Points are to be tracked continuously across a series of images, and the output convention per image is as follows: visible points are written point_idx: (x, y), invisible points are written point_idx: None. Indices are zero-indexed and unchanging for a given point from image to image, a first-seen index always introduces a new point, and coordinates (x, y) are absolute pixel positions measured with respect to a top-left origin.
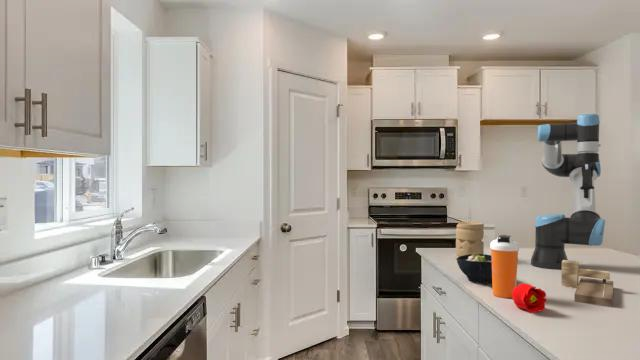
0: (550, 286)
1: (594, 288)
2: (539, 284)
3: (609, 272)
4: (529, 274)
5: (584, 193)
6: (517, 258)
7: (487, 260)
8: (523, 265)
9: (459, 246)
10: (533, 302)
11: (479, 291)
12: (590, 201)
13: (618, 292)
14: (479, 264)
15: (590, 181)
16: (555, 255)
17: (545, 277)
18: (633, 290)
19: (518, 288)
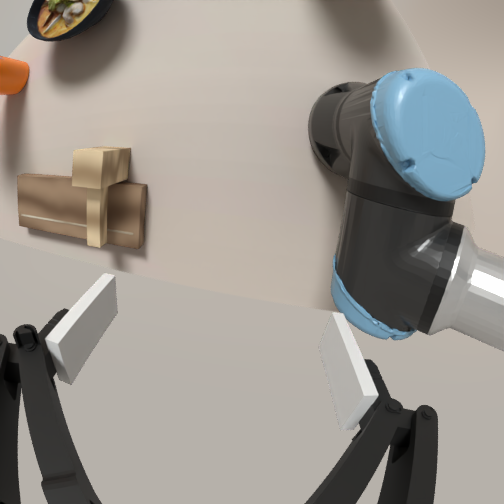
0: (94, 126)
1: (60, 206)
2: (101, 104)
3: (91, 245)
4: (200, 72)
5: (46, 328)
6: None
7: (67, 6)
8: (327, 62)
9: None
10: None
11: (27, 42)
12: (325, 354)
13: (112, 246)
14: (31, 16)
15: (321, 484)
16: (326, 139)
17: (180, 108)
18: (145, 275)
19: None
